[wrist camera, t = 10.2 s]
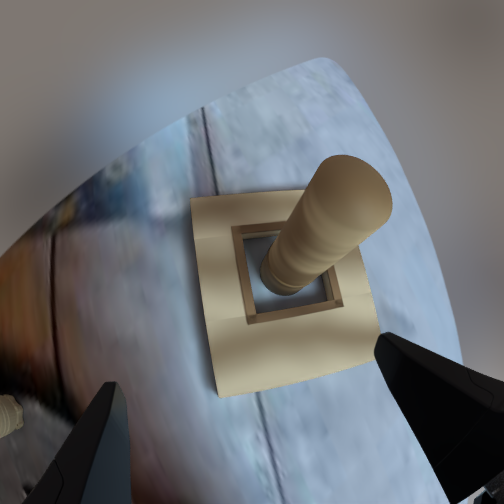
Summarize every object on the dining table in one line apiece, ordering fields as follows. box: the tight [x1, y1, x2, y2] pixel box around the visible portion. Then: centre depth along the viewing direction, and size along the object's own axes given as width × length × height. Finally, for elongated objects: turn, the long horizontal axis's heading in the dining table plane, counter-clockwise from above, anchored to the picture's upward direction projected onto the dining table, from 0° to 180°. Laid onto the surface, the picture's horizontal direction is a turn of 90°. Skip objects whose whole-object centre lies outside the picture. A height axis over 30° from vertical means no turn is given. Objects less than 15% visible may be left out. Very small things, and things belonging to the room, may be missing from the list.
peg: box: [260, 155, 392, 296], centre depth 19 cm, size 4×4×13 cm
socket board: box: [190, 190, 381, 398], centre depth 24 cm, size 16×14×1 cm
